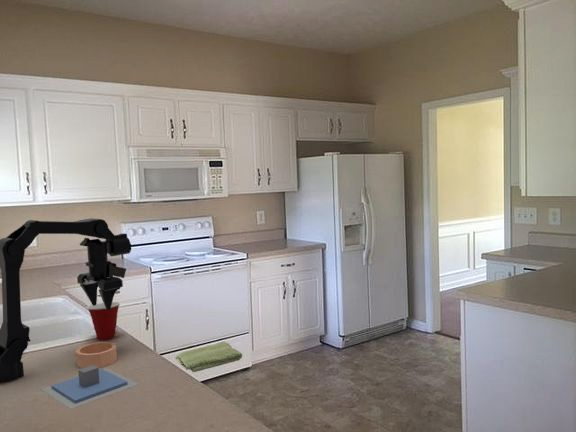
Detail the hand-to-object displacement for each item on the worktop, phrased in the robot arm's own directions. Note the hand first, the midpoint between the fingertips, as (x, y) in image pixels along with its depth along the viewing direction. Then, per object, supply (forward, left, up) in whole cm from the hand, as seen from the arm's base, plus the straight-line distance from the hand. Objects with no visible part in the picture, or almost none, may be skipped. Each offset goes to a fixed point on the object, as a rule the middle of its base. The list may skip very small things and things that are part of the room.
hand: (101, 307), depth 161 cm
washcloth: (+17, -32, -15) cm, 39 cm away
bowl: (-6, -8, -15) cm, 18 cm away
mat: (-16, -24, -15) cm, 33 cm away
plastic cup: (+8, +14, -15) cm, 22 cm away
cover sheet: (-16, -24, -14) cm, 32 cm away
